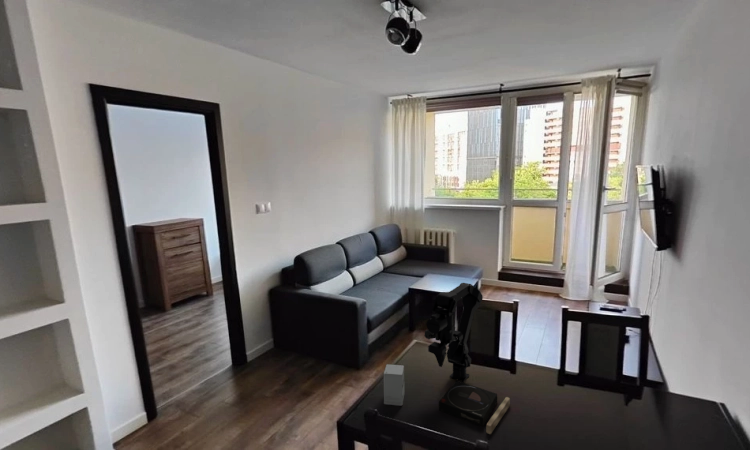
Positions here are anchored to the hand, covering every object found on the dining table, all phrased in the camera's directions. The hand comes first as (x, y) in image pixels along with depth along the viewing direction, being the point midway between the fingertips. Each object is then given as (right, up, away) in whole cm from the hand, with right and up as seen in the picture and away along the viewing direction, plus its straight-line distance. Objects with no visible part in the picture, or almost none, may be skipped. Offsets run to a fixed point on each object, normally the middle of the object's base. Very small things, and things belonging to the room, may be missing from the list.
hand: (446, 361), depth 142 cm
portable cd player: (+7, -14, -9) cm, 18 cm away
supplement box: (-21, -13, -4) cm, 25 cm away
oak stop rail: (+15, -14, -17) cm, 27 cm away
